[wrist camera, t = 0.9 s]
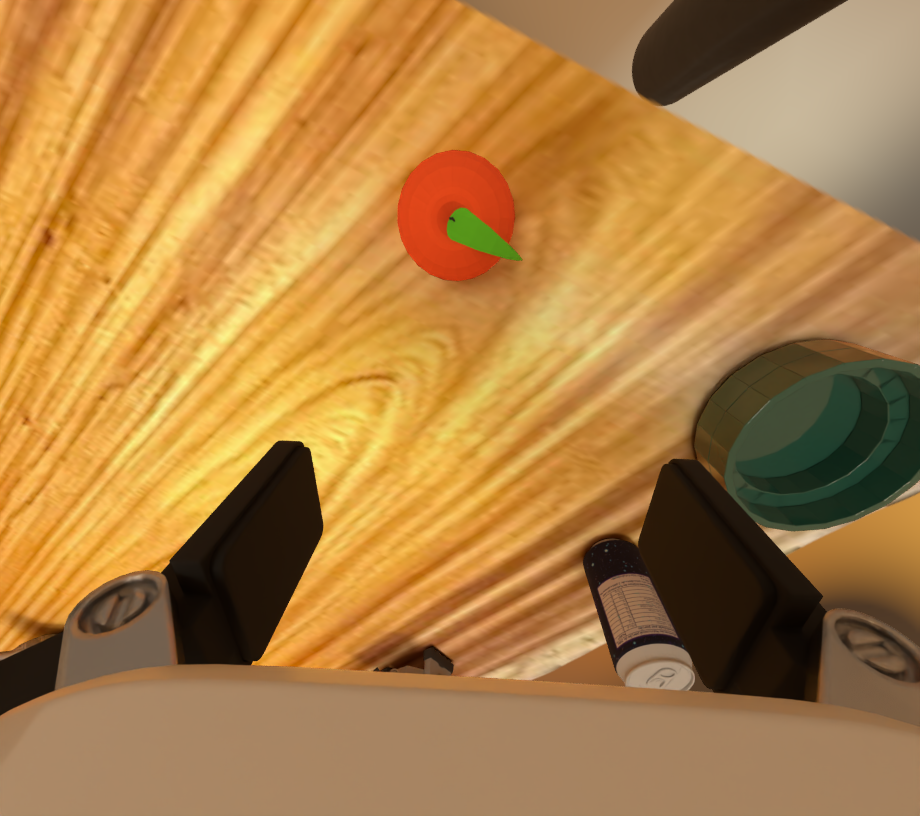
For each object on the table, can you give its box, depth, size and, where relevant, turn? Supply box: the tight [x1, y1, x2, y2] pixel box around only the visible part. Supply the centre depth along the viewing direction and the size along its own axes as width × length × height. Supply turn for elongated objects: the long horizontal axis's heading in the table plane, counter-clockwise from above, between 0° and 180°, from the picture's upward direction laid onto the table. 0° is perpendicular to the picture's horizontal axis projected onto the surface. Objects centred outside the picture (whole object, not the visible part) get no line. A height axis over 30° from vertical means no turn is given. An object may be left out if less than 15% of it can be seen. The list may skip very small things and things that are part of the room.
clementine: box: [398, 150, 522, 281], centre depth 23 cm, size 8×7×7 cm
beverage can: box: [583, 539, 695, 691], centre depth 33 cm, size 6×6×12 cm
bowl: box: [694, 339, 920, 531], centre depth 29 cm, size 14×14×5 cm
